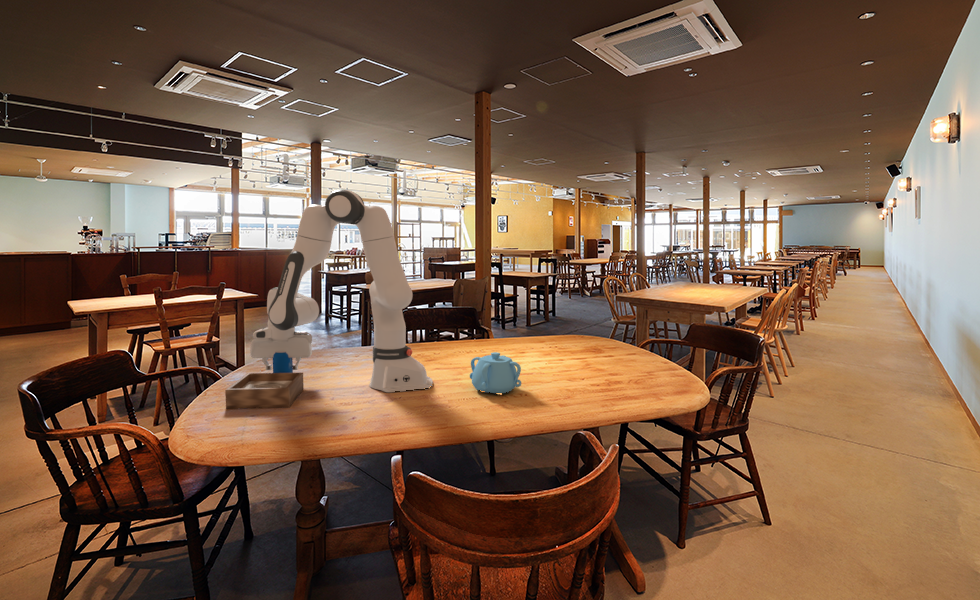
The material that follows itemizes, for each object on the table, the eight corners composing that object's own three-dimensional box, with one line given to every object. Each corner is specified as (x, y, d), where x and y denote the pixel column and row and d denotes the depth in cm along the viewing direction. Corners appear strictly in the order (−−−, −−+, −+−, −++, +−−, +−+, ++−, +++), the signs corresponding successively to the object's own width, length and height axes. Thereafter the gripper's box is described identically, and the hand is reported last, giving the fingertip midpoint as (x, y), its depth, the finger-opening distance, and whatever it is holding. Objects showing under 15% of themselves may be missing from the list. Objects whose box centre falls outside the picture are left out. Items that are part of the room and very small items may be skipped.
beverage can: (285, 386, 163) (284, 352, 161) (269, 384, 164) (268, 351, 162) (296, 381, 169) (296, 348, 168) (281, 379, 170) (280, 347, 169)
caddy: (303, 389, 159) (303, 372, 159) (289, 407, 142) (288, 388, 141) (247, 390, 157) (247, 373, 156) (226, 409, 139) (225, 389, 138)
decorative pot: (510, 383, 174) (511, 347, 172) (523, 396, 158) (524, 357, 156) (468, 384, 170) (468, 348, 168) (476, 398, 154) (477, 358, 153)
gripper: (313, 330, 169) (314, 367, 170) (254, 330, 166) (255, 367, 167) (310, 333, 163) (310, 371, 164) (247, 333, 159) (249, 372, 161)
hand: (282, 369), depth 166 cm, fingers open, 8 cm apart
